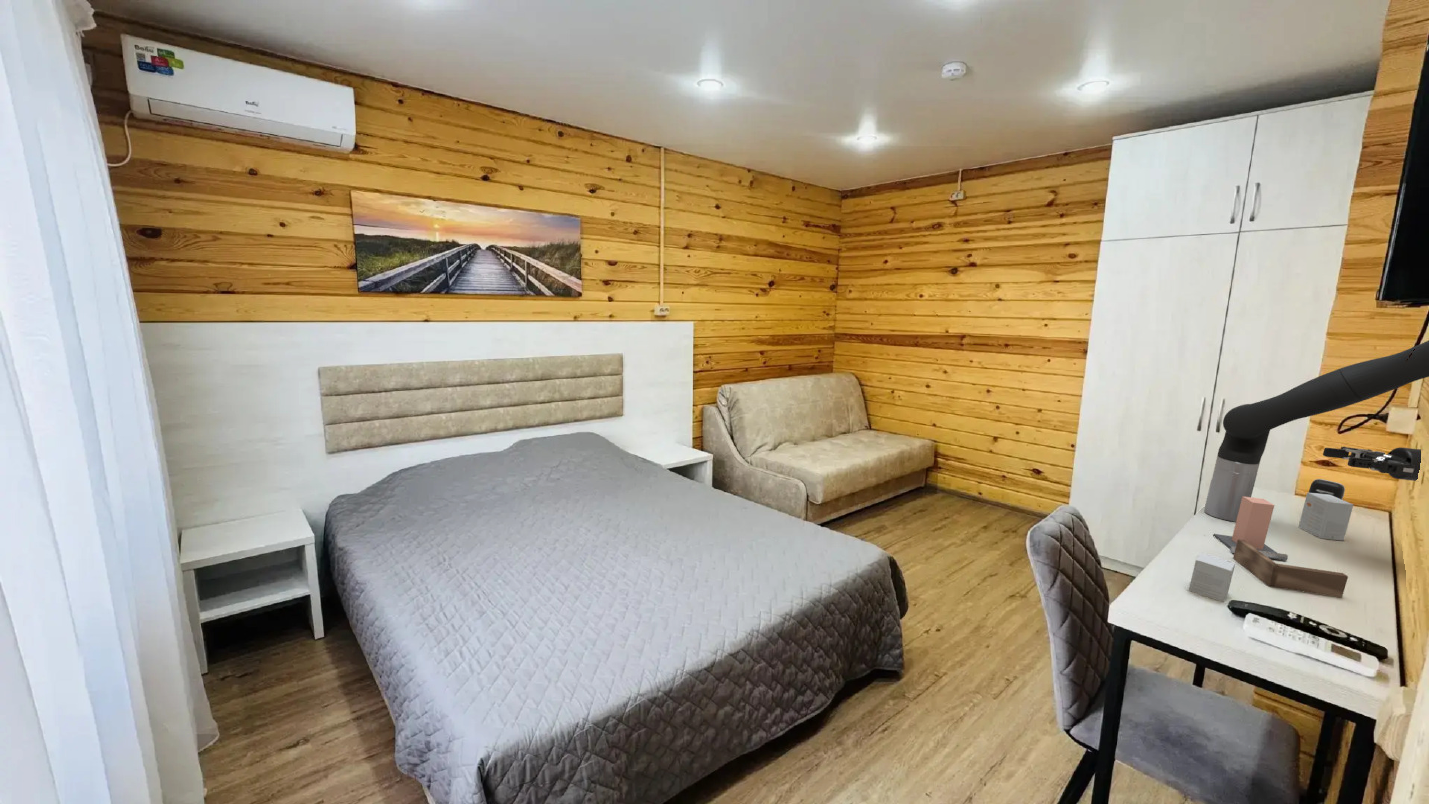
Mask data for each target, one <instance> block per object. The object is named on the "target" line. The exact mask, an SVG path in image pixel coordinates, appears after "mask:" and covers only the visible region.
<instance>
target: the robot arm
mask: <svg viewBox="0 0 1429 804" xmlns="http://www.w3.org/2000/svg"><path fill="white" fill-rule="evenodd" d="M1414 349H1415V350H1414ZM1413 350H1414V351H1413ZM1411 353H1412V355H1411V356H1410V358H1409V355H1410V354H1411ZM1407 359H1408V360H1407ZM1406 360H1407V361H1406ZM1426 378H1429V339H1428V340H1426V341H1424V342H1422V343H1420V344H1418V345H1417V344H1416V345H1415V346H1412V347H1410V348H1407V349H1406V350H1405V349H1404V350H1403V351H1400V352H1397V353H1394V354H1390V355H1387V356H1381V357H1379V358H1373V359H1369V360H1364V361H1360V362H1357V363H1353V364H1350V365H1347V366H1343V367H1340V368H1338V369H1336V370H1333V371H1329V372H1326V373H1325V374H1321V375H1319V376H1317V377H1314V378H1312V379H1309V380H1308V381H1305V382H1303V383H1301V384H1299V385H1297V386H1295V387H1293V388H1291V389H1289V390H1287V391H1285V392H1282V393H1280V394H1278V395H1276V396H1273V397H1270V398H1267V399H1264V400H1260V401H1256V402H1253V403H1246V404H1245V403H1244V404H1242V405H1241V404H1240V405H1238V406H1236V407H1233V408H1231V409H1230V410H1228V411H1227V412H1226V414H1225V415H1224V417H1223V420H1222V426H1223V430H1225V431H1224V432H1225V433H1224V437H1223V440H1222V442H1221V444H1220V446H1219V448H1218V451H1217V456H1216V460H1215V464H1214V469H1213V474H1212V477H1211V479H1210V484H1209V489H1208V492H1207V497H1206V500H1205V505H1204V510H1203V511H1204V513H1206V514H1207V515H1209V516H1210V517H1214V518H1217V519H1220V520H1225V521H1230V522H1236V520H1237V516H1238V512H1239V508H1240V504H1241V500H1242V496H1243V497H1252V495H1253V491H1254V487H1255V483H1256V481H1257V480H1256V479H1257V476H1258V470H1259V467H1260V464H1261V459H1262V457H1263V455H1264V453H1265V450H1266V447H1267V443H1268V439H1269V436H1270V432H1271V430H1273V429H1275V428H1277V427H1281V426H1283V425H1285V424H1289V423H1291V422H1294V421H1296V420H1301V419H1305V418H1308V417H1312V416H1317V415H1320V414H1324V413H1328V412H1331V411H1335V410H1338V409H1339V410H1340V409H1342V408H1346V407H1349V406H1352V405H1356V404H1358V403H1360V402H1364V401H1367V400H1369V399H1373V398H1374V397H1378V396H1380V395H1382V394H1385V393H1388V392H1391V391H1393V390H1396V389H1399V388H1402V387H1404V386H1406V385H1409V384H1412V383H1413V382H1416V381H1419V380H1422V379H1426ZM1421 449H1422V448H1421ZM1421 449H1419V448H1411V447H1410V448H1409V447H1396V448H1393V449H1392V450H1390V451H1389V452H1388V453H1386V452H1384V451H1379V450H1375V451H1373V450H1371V449H1369V448H1367V449H1366V448H1365V449H1364V448H1356V447H1349V446H1347V447H1346V446H1341V447H1340V448H1334V447H1333V448H1332V447H1325V448H1323V451H1322V455H1323V457H1327V458H1334V459H1342V460H1347V461H1348V462H1347V466H1348V467H1351V468H1357V469H1359V468H1360V469H1369V470H1371V471H1376V472H1379V473H1380V474H1387V475H1389V476H1390V477H1392V478H1393V479H1396V480H1403V481H1405V480H1406V481H1414V482H1417V481H1416V480H1417V479H1418V473H1419V470H1420V463H1421ZM1350 453H1351V454H1350ZM1349 454H1350V455H1349Z"/></svg>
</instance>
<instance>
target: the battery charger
mask: <svg viewBox="0 0 1429 804" xmlns="http://www.w3.org/2000/svg"><path fill="white" fill-rule="evenodd" d="M1310 484H1311V485H1310V487H1309V489H1308V493H1318V494H1328V495H1332V496H1334V497H1337V498H1339V499H1341V500H1343V499H1344V496H1345V491H1346V488H1345V486H1344V485H1343V484H1342V483H1340V482H1336V481H1333V480H1327V479H1321V478H1316V479H1314V480H1313V481H1312V482H1311V483H1310Z"/></svg>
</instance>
